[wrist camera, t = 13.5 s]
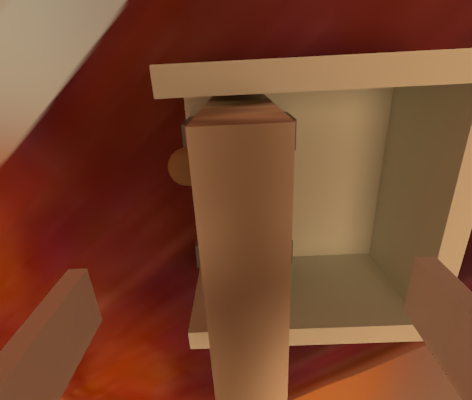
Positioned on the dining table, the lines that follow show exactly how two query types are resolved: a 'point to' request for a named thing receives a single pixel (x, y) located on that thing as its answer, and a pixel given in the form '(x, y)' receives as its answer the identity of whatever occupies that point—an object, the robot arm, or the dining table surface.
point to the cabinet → (356, 178)
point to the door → (243, 238)
